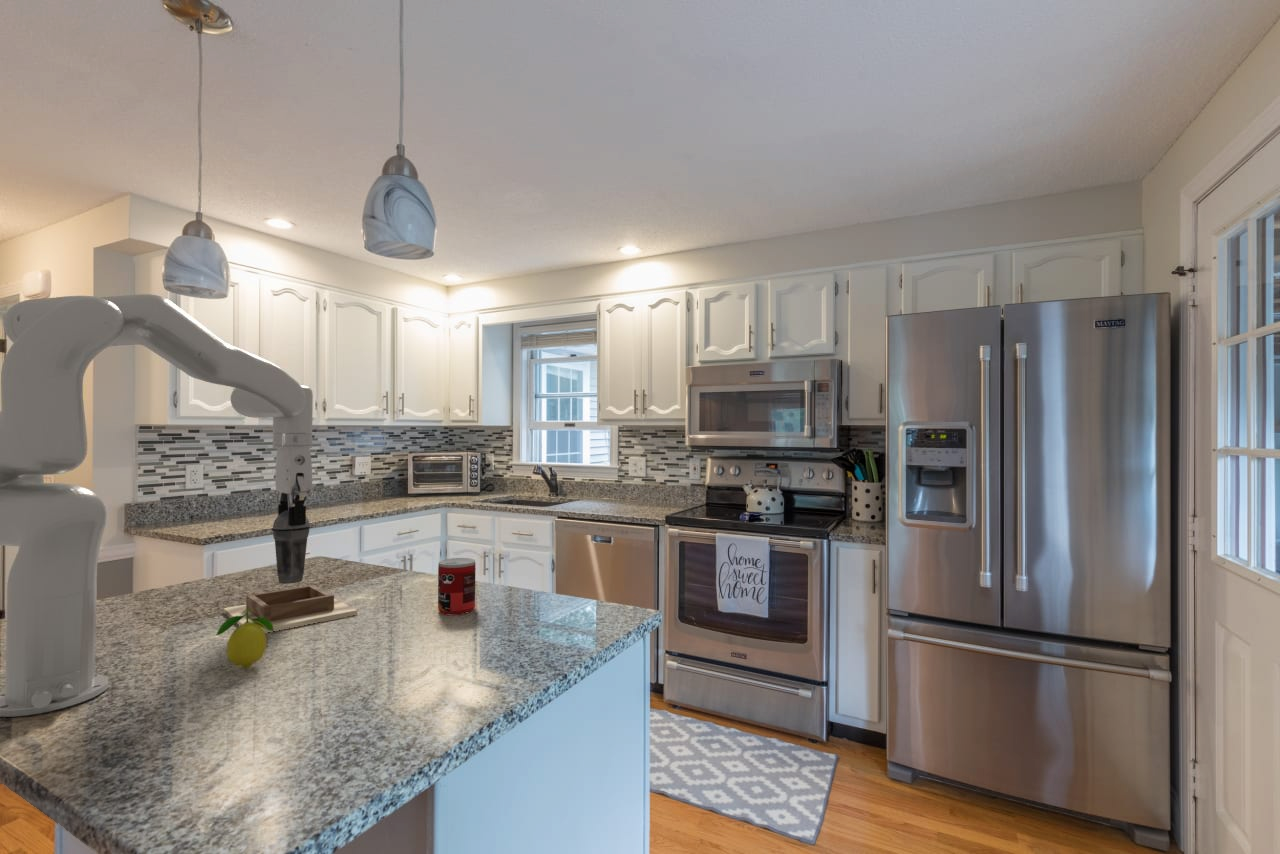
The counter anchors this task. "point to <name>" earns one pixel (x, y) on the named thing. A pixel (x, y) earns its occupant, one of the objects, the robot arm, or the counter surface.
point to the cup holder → (291, 607)
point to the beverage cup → (290, 548)
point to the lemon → (246, 640)
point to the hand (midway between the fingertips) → (291, 522)
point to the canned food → (456, 585)
